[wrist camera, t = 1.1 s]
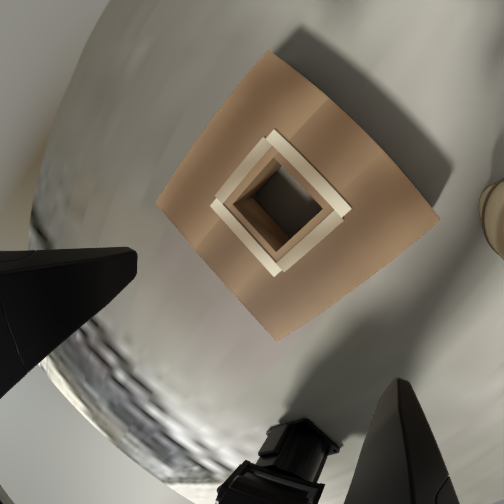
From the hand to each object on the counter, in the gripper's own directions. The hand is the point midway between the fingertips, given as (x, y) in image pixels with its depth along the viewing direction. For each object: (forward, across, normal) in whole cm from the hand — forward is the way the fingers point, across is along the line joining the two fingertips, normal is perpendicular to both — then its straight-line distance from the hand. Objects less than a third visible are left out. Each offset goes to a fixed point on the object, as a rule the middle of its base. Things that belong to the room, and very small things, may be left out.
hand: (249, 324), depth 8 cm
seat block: (+13, +4, 0) cm, 14 cm away
